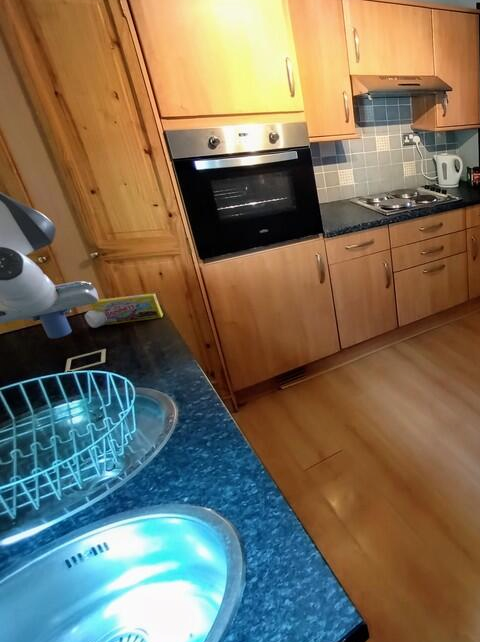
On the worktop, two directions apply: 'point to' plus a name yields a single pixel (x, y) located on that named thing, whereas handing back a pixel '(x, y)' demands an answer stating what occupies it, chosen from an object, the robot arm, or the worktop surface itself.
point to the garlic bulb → (95, 318)
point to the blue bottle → (55, 324)
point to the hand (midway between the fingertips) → (51, 314)
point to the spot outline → (87, 365)
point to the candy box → (129, 308)
